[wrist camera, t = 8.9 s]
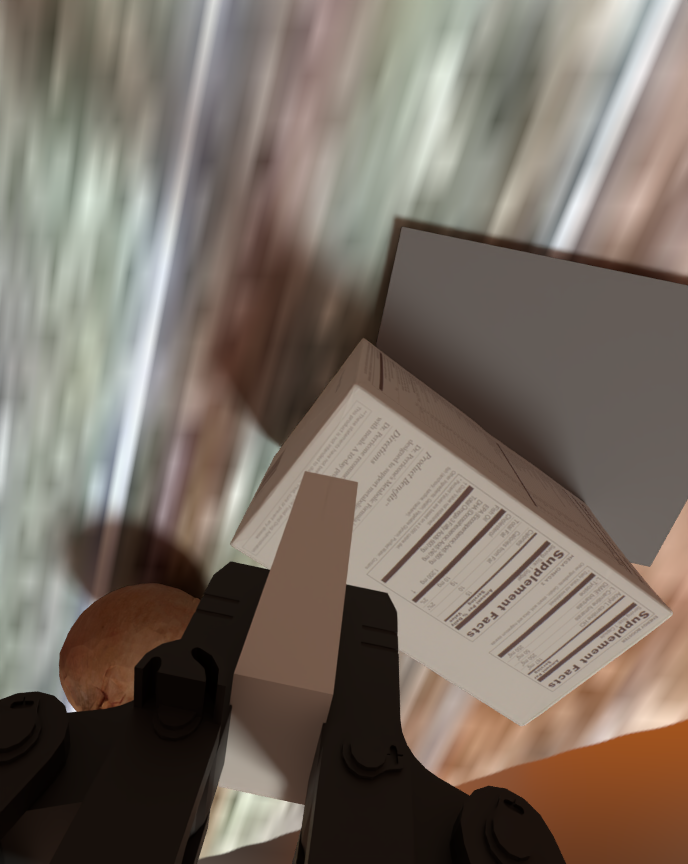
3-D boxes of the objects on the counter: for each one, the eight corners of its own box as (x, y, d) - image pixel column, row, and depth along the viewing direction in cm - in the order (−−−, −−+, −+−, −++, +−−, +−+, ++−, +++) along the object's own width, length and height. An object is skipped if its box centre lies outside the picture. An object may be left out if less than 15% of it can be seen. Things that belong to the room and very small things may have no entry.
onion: (255, 581, 34) (203, 711, 24) (216, 666, 37) (158, 807, 28) (128, 530, 33) (26, 644, 24) (101, 621, 37) (3, 751, 27)
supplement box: (222, 549, 20) (523, 740, 22) (353, 379, 17) (686, 622, 19) (273, 456, 29) (484, 600, 31) (364, 333, 26) (590, 504, 28)
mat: (643, 558, 30) (650, 566, 29) (343, 494, 30) (342, 501, 30) (781, 305, 24) (794, 307, 23) (401, 227, 24) (402, 226, 23)
